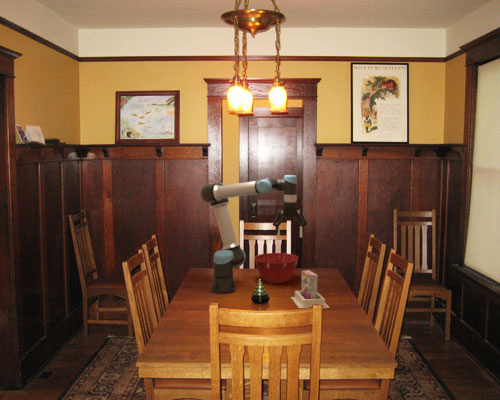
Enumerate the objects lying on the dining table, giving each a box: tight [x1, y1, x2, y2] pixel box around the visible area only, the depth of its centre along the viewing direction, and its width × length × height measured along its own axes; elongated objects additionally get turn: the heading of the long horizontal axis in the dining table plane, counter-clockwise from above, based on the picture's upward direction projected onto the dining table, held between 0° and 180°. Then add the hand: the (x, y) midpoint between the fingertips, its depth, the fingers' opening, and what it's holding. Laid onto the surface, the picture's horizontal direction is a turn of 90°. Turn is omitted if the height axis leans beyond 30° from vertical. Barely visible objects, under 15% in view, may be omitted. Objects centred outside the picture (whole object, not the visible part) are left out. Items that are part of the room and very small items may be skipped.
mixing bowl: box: [253, 252, 299, 284], centre depth 300 cm, size 28×28×15 cm
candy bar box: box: [300, 269, 319, 299], centre depth 256 cm, size 11×5×16 cm, turn 19°
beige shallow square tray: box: [290, 290, 330, 310], centre depth 257 cm, size 16×20×4 cm
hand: (289, 237), depth 273 cm, fingers open, 13 cm apart
